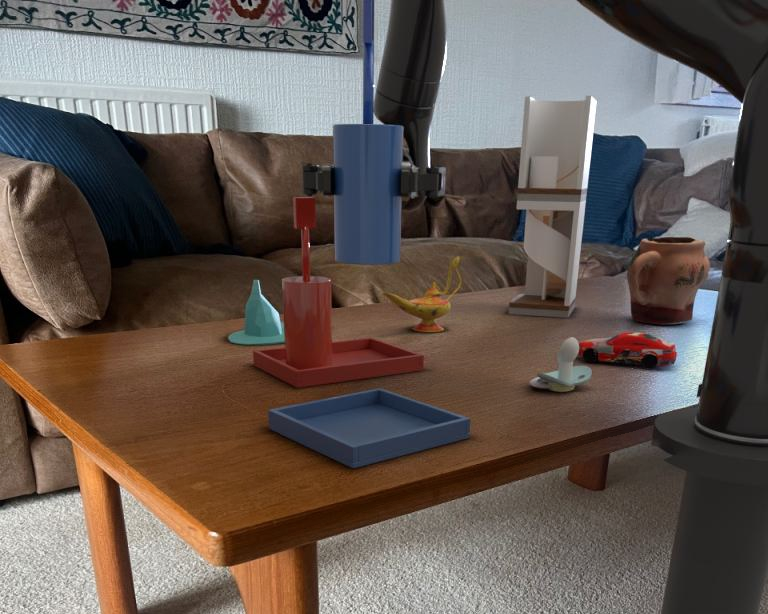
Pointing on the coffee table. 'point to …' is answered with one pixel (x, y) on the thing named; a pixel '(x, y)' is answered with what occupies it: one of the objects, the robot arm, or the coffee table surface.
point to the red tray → (343, 363)
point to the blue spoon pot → (367, 176)
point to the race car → (629, 350)
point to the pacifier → (564, 370)
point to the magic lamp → (428, 304)
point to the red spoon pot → (307, 303)
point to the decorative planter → (666, 279)
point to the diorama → (259, 322)
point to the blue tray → (368, 426)
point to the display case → (553, 201)
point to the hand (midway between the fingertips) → (366, 182)
